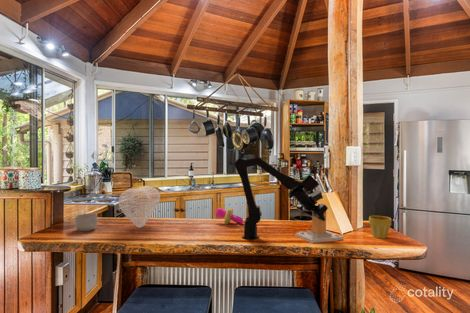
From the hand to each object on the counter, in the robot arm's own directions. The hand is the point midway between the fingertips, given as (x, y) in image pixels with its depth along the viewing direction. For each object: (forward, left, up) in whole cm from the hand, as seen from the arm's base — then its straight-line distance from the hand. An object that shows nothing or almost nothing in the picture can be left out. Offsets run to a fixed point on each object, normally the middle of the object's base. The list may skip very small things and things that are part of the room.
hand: (321, 219), depth 156 cm
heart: (-47, +84, -9) cm, 97 cm away
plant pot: (+21, -22, -9) cm, 32 cm away
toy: (-7, +54, -9) cm, 55 cm away
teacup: (-68, +102, -9) cm, 123 cm away
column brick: (-1, +1, -7) cm, 7 cm away
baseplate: (-1, +1, -9) cm, 9 cm away
